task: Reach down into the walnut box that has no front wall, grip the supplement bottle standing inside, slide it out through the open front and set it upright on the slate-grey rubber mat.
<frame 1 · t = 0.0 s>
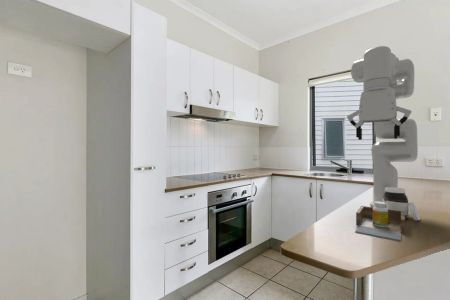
hand: (377, 139, 73), 31 cm above the counter, tool pointing down, fingers open, 9 cm apart
slate mat: (377, 233, 74), on the counter
open front box: (380, 224, 83), on the counter
supplement bottle: (380, 225, 82), on the counter
spread jar: (401, 217, 92), on the counter
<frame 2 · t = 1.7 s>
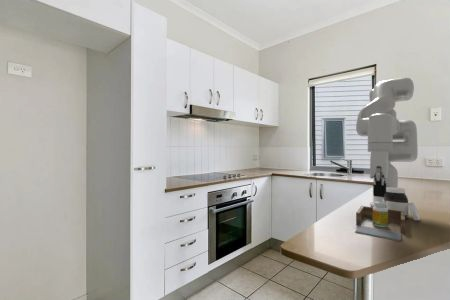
hand: (379, 194, 81), 11 cm above the counter, tool pointing down, fingers open, 9 cm apart
nothing on the counter moved.
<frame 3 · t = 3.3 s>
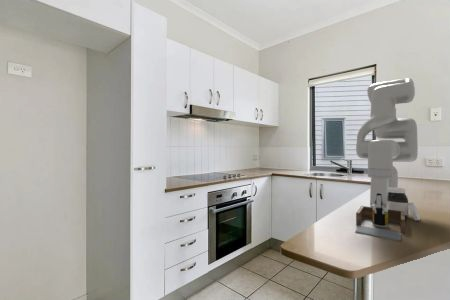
hand: (380, 222, 82), 1 cm above the counter, tool pointing down, fingers closed on supplement bottle, 4 cm apart
supplement bottle: (380, 225, 82), on the counter, touching gripper
everything else where it was.
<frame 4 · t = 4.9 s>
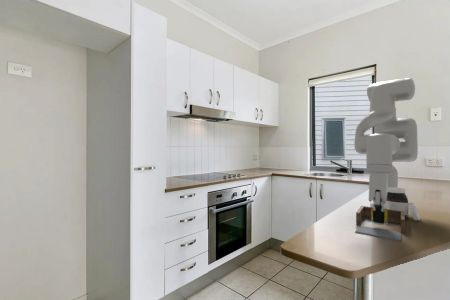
hand: (379, 220, 78), 3 cm above the counter, tool pointing down, fingers closed on supplement bottle, 4 cm apart
supplement bottle: (379, 223, 78), point 2 cm above the counter, touching gripper
everything else where it was.
when the fingers open (2 cm above the counter, at t = 6.6 s): supplement bottle stays where it is, resting on slate mat.
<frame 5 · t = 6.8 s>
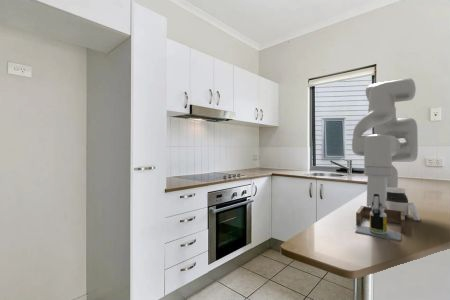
hand: (377, 225, 74), 3 cm above the counter, tool pointing down, fingers open, 6 cm apart
supplement bottle: (378, 232, 74), resting on slate mat
everything else where it was.
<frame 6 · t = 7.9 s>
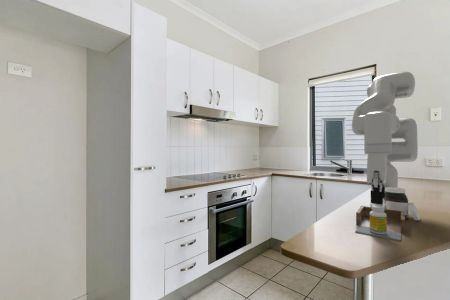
hand: (378, 200, 75), 11 cm above the counter, tool pointing down, fingers open, 9 cm apart
nothing on the counter moved.
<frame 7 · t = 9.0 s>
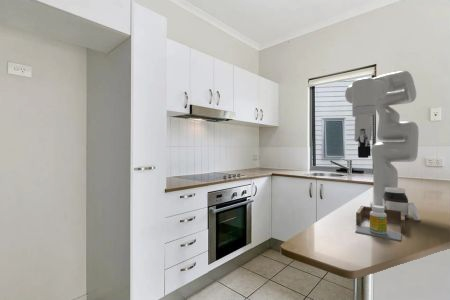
hand: (364, 156, 85), 25 cm above the counter, tool pointing down, fingers open, 9 cm apart
nothing on the counter moved.
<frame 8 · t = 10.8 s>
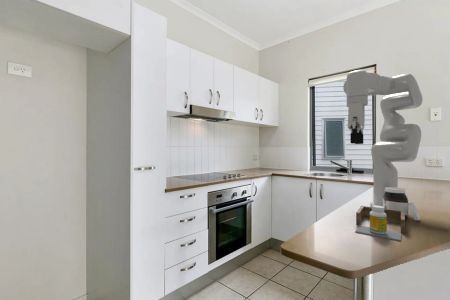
hand: (357, 143, 91), 30 cm above the counter, tool pointing down, fingers open, 9 cm apart
nothing on the counter moved.
at the end: supplement bottle inside the target area (0.5 cm from its centre), resting on slate mat; supplement bottle tilted 0°; the gripper is holding nothing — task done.
